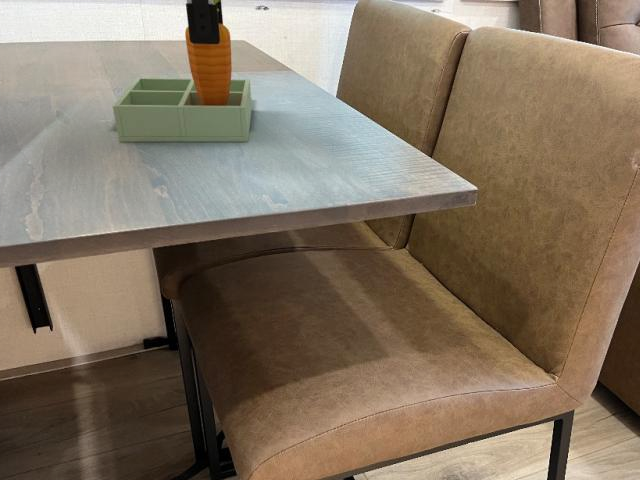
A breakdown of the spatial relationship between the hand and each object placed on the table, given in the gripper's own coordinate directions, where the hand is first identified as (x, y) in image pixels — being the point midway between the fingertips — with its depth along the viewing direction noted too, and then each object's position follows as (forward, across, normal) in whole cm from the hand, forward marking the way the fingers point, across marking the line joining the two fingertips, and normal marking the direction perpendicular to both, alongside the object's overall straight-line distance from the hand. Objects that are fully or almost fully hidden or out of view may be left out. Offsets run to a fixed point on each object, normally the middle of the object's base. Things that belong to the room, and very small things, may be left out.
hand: (207, 37), depth 73 cm
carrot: (+10, 0, 0) cm, 10 cm away
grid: (+11, -4, -3) cm, 12 cm away
